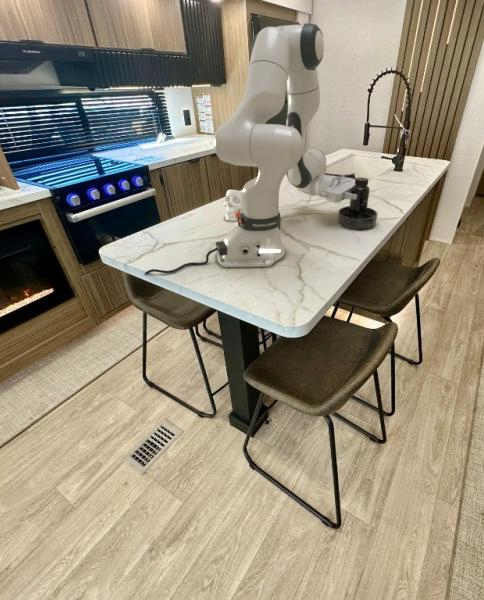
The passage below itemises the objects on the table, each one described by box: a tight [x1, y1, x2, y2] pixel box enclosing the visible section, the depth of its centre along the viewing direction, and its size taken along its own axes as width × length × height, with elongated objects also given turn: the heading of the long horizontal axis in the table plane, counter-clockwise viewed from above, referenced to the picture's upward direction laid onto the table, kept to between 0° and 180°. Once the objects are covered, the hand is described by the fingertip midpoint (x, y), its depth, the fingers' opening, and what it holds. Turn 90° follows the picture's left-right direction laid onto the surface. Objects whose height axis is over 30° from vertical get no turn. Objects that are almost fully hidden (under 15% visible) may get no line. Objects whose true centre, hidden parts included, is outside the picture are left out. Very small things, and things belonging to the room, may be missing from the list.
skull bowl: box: [223, 189, 244, 222], centre depth 137 cm, size 10×14×12 cm
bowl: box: [337, 205, 379, 230], centre depth 130 cm, size 15×15×4 cm
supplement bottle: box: [349, 176, 371, 213], centre depth 125 cm, size 7×7×12 cm
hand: (362, 194), depth 124 cm, fingers closed on supplement bottle, 7 cm apart
